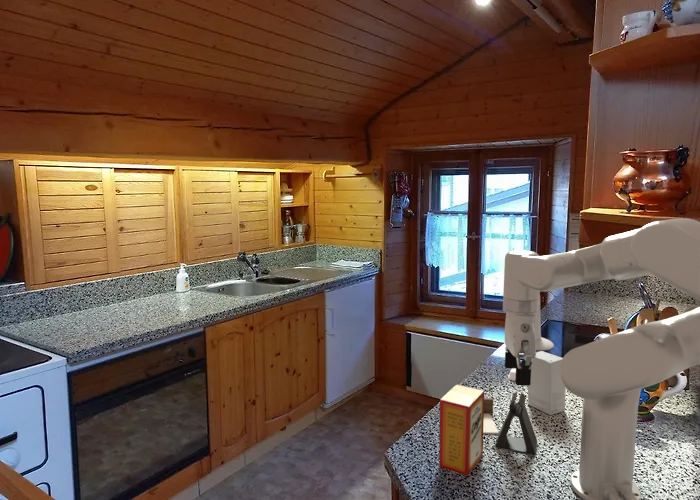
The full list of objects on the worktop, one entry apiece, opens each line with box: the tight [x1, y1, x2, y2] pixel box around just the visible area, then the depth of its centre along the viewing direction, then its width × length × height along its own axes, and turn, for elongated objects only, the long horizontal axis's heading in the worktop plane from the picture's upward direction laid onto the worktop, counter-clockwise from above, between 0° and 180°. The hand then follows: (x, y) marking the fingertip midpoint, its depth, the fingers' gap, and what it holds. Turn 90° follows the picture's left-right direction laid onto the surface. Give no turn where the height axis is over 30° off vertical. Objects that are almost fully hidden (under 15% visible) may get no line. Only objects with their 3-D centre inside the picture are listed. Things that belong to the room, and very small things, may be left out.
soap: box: [507, 368, 516, 382], centre depth 156 cm, size 9×7×3 cm
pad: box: [483, 413, 500, 435], centre depth 127 cm, size 10×7×1 cm
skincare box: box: [527, 350, 566, 416], centre depth 135 cm, size 8×6×15 cm
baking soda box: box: [438, 384, 485, 477], centre depth 110 cm, size 10×6×16 cm
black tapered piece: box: [494, 391, 538, 456], centre depth 116 cm, size 9×6×12 cm, turn 65°
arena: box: [484, 397, 494, 414], centre depth 128 cm, size 13×10×4 cm
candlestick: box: [535, 291, 555, 351], centre depth 186 cm, size 13×13×30 cm
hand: (516, 376), depth 115 cm, fingers open, 9 cm apart
